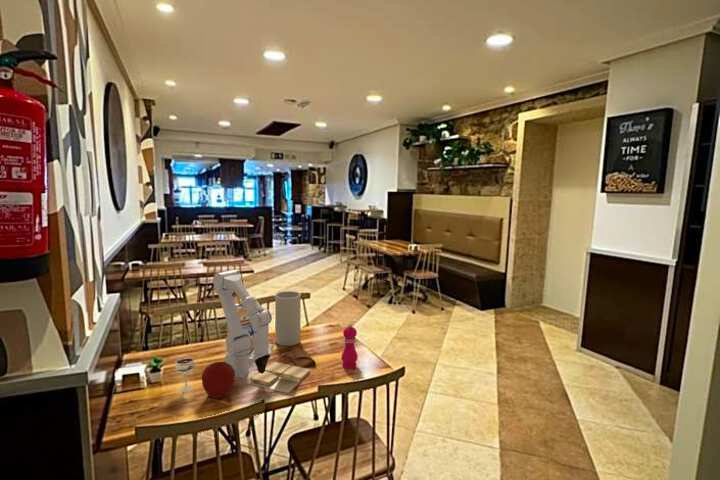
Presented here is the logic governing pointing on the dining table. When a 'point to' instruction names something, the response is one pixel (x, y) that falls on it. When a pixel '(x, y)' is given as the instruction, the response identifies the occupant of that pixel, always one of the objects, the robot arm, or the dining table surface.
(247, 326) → the beverage box
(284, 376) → the plank
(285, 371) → the laid row
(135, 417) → the dining table surface
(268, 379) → the plank
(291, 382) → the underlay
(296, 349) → the brown shoe
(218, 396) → the apple
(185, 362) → the wineglass
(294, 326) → the cylinder vase
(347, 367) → the pepper mill
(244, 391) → the dining table surface
